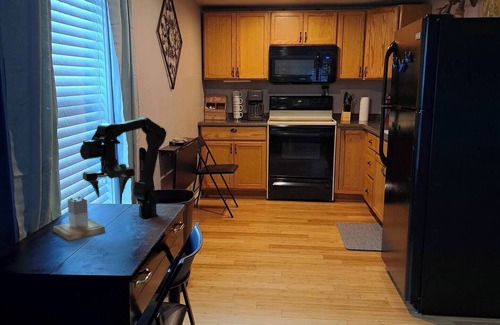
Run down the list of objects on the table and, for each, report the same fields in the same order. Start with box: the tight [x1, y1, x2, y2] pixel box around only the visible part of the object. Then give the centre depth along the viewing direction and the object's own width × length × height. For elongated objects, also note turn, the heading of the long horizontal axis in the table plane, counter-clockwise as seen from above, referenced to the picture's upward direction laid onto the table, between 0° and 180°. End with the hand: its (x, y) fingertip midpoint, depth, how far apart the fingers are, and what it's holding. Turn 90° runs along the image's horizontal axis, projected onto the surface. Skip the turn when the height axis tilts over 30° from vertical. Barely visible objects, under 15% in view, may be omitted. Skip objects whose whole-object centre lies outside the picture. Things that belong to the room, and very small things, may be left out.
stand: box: [52, 218, 106, 242], centre depth 159 cm, size 14×14×2 cm
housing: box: [67, 196, 89, 229], centre depth 158 cm, size 5×6×11 cm
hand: (110, 195), depth 162 cm, fingers open, 9 cm apart
